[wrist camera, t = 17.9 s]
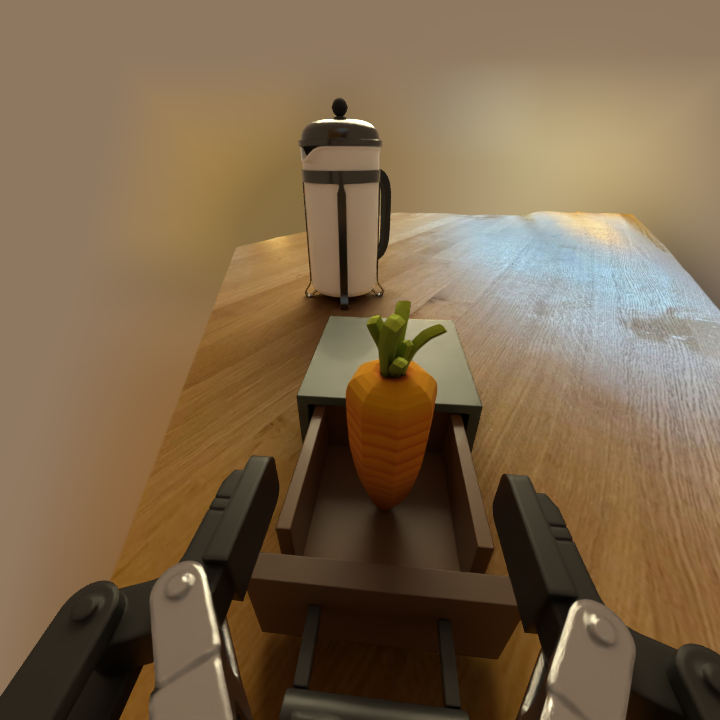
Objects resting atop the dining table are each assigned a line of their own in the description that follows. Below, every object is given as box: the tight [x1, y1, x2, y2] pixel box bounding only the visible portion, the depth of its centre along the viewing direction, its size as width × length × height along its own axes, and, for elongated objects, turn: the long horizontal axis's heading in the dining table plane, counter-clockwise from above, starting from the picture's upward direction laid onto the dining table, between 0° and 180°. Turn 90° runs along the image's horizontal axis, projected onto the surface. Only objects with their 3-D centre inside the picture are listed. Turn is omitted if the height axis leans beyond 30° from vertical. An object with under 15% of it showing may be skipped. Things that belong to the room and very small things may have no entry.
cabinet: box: [297, 316, 483, 452], centre depth 32 cm, size 15×14×8 cm
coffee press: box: [298, 98, 391, 309], centre depth 57 cm, size 17×16×30 cm
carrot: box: [346, 301, 447, 511], centre depth 19 cm, size 5×5×15 cm
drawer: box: [247, 405, 521, 720], centre depth 20 cm, size 18×12×6 cm
